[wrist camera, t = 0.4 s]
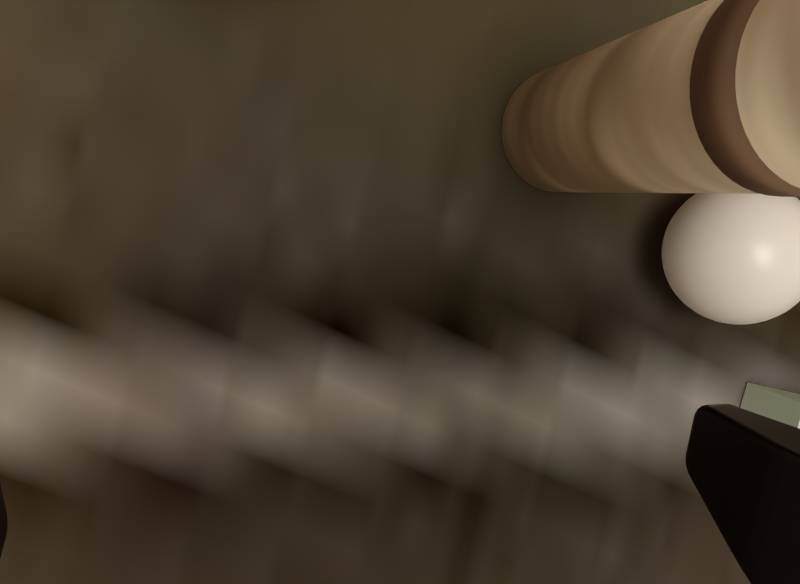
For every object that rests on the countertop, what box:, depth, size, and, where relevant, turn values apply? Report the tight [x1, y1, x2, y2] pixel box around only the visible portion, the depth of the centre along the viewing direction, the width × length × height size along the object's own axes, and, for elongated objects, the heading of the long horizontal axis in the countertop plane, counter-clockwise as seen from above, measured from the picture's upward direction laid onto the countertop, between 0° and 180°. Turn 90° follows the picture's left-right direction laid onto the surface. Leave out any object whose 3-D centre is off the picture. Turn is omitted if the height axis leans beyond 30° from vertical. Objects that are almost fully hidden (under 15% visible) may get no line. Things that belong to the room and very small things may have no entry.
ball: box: [662, 193, 800, 324], centre depth 23 cm, size 5×5×5 cm
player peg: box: [501, 0, 800, 197], centre depth 17 cm, size 4×4×13 cm
